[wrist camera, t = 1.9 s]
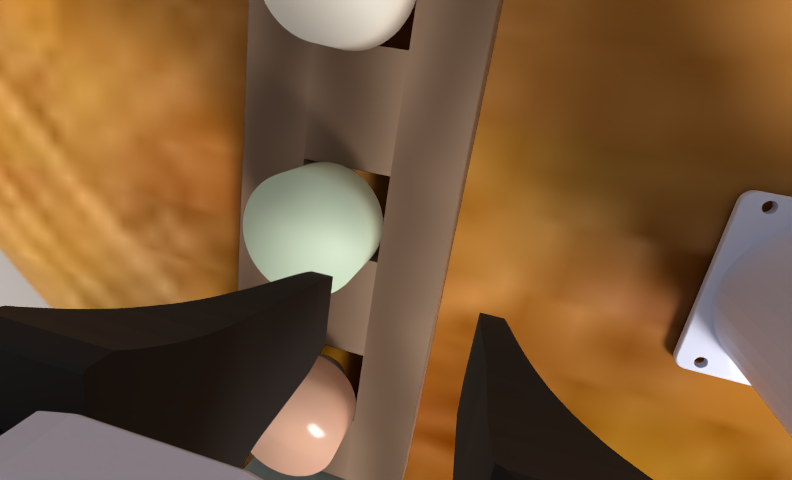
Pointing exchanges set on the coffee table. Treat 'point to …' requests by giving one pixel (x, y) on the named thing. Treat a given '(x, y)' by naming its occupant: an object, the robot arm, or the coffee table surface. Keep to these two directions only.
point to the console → (407, 194)
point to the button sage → (313, 223)
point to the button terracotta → (310, 422)
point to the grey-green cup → (271, 476)
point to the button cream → (342, 20)
